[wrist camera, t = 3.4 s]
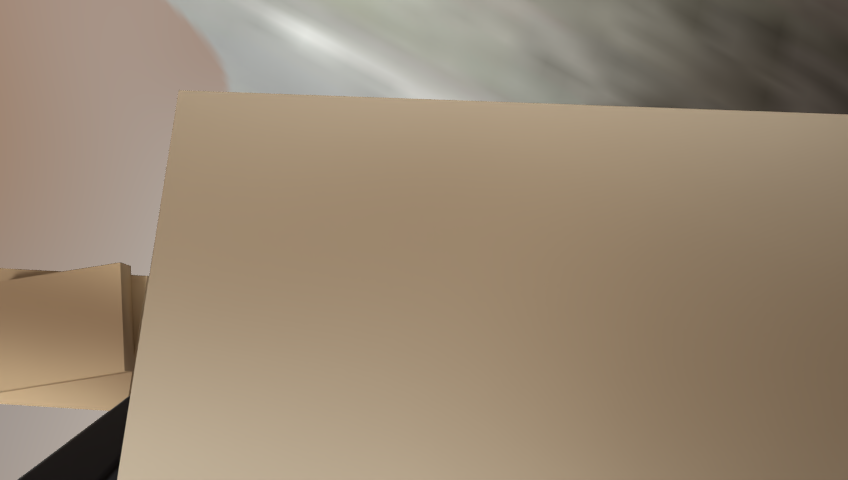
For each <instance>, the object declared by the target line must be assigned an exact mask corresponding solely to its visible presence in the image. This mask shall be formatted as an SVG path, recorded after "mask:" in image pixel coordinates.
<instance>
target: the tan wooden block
mask: <svg viewBox="0 0 848 480" xmlns="http://www.w3.org/2000/svg"><path fill="white" fill-rule="evenodd" d="M117 480H848V115H847V114H820V113H792V112H764V111H737V110H709V109H681V108H653V107H626V106H598V105H570V104H542V103H515V102H487V101H459V100H431V99H404V98H376V97H348V96H320V95H293V94H265V93H237V92H209V91H182V90H180V91H179V92H178V98H177V104H176V110H175V117H174V123H173V129H172V136H171V142H170V149H169V155H168V161H167V167H166V174H165V180H164V187H163V193H162V199H161V205H160V212H159V219H158V224H157V231H156V237H155V243H154V250H153V256H152V262H151V269H150V275H149V281H148V287H147V294H146V300H145V306H144V313H143V319H142V325H141V332H140V338H139V344H138V351H137V357H136V363H135V370H134V376H133V382H132V389H131V395H130V401H129V408H128V414H127V420H126V427H125V433H124V439H123V446H122V452H121V458H120V465H119V471H118V477H117Z"/></svg>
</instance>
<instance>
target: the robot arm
mask: <svg viewBox="0 0 848 480" xmlns="http://www.w3.org/2000/svg"><path fill="white" fill-rule="evenodd" d="M129 401H130V396H128V397H127V398H126V399H124V400H123V401H122V402H120V403H119V404H118V405H116V406H115V407H114V408H112V409H111V410H110V411H108V412H107V413H106V414H104V415H103V416H102V417H100V418H99V419H98V420H96V421H95V422H94V423H92V424H91V425H90V426H88V427H87V428H86V429H85V430H83V431H82V432H81V433H79V434H78V435H77V436H75V437H74V438H72V439H71V440H70V441H69V442H67V443H66V444H65V445H63V446H62V447H61V448H59V449H58V450H57V451H55V452H54V453H53V454H51V455H50V456H49V457H47V458H46V459H45V460H43V461H42V462H41V463H39V464H38V465H37V466H35V467H34V468H33V469H31V470H30V471H29V472H27V473H26V474H25V475H23V476H22V477H21V478H19V479H18V480H117V477H118V471H119V465H120V458H121V452H122V446H123V439H124V433H125V427H126V420H127V414H128V408H129Z"/></svg>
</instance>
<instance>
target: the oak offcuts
mask: <svg viewBox="0 0 848 480" xmlns="http://www.w3.org/2000/svg"><path fill="white" fill-rule="evenodd" d="M148 281H149V276H137V275H131V266H129V265H126V264H123V263H114V264H108V265H101V266H95V267H88V268H82V269H76V270H70V271H63V272H61V271H41V270H22V269H3V268H0V404H12V405H27V406H43V407H59V408H74V409H90V410H105V411H110V410H111V409H112V408H114V407H115V406H116V405H118V404H119V403H120V402H122V401H123V400H124V399H126V398H127V397H128V396H130V395H131V389H132V382H133V376H134V370H135V363H136V357H137V351H138V344H139V338H140V332H141V325H142V319H143V313H144V306H145V300H146V294H147V287H148Z"/></svg>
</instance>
